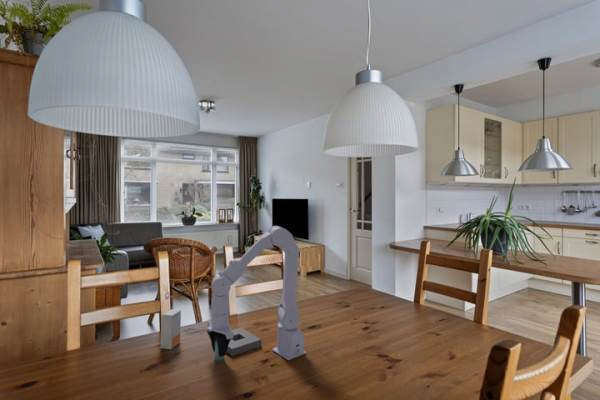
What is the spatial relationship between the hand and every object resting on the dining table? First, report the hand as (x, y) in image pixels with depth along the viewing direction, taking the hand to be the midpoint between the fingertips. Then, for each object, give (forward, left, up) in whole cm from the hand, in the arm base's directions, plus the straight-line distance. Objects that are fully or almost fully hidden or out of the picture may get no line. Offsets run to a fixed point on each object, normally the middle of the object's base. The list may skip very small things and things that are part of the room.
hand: (219, 353), depth 108 cm
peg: (0, 0, -2) cm, 2 cm away
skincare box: (+20, +9, -2) cm, 22 cm away
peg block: (+6, -10, -2) cm, 12 cm away
